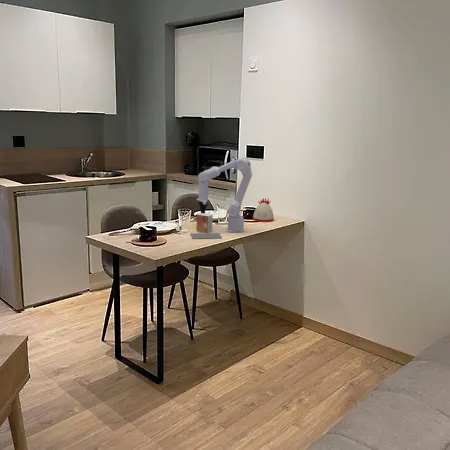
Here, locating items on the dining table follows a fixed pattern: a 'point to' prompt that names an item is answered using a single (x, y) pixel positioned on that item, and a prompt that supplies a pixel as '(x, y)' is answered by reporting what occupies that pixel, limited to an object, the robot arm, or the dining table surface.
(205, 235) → the mat
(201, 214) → the small box
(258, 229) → the dining table surface
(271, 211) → the spiked white dome
